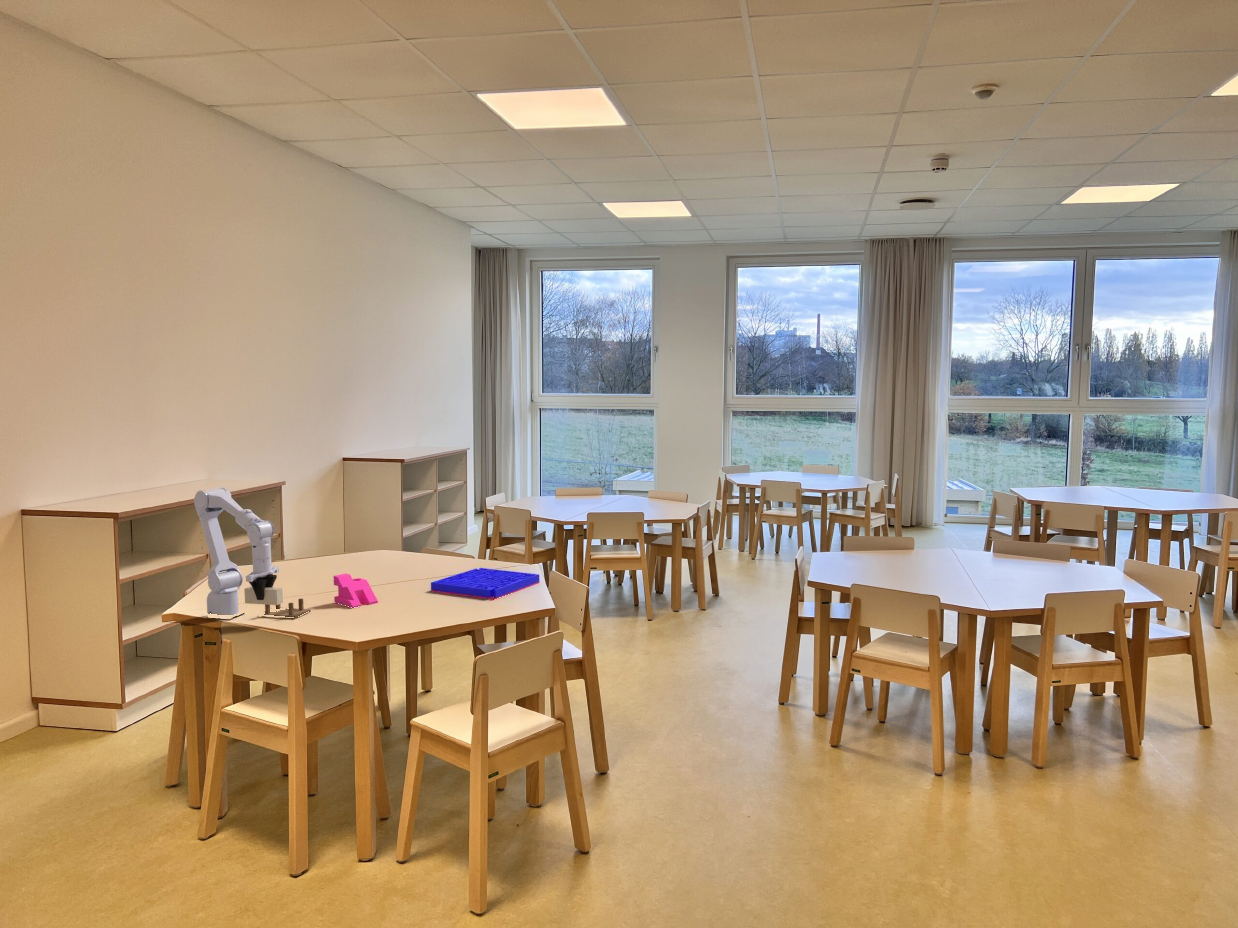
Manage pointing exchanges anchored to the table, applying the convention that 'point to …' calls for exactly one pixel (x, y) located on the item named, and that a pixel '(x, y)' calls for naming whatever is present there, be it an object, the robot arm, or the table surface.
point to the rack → (287, 610)
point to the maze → (485, 583)
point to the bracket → (353, 591)
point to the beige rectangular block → (270, 596)
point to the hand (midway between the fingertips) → (263, 598)
